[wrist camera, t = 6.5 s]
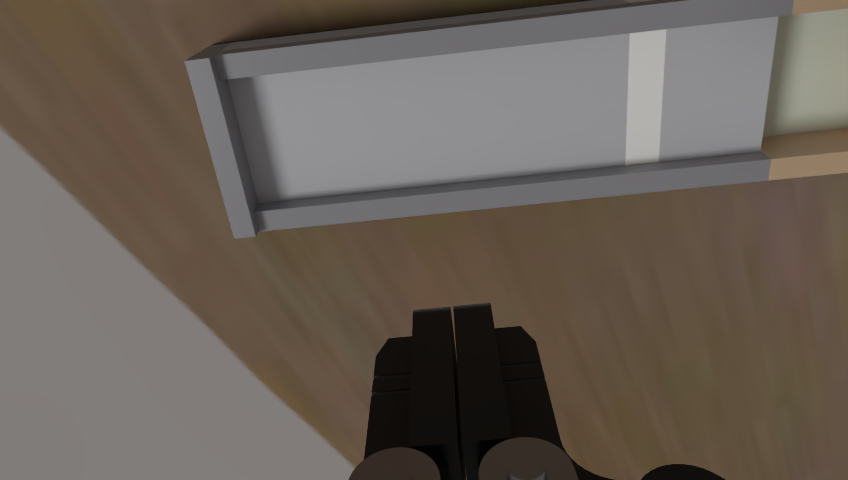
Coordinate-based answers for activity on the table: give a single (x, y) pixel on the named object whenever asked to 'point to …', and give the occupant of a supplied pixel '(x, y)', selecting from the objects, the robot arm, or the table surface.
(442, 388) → the robot arm
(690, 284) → the table surface
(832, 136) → the lane
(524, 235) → the table surface
